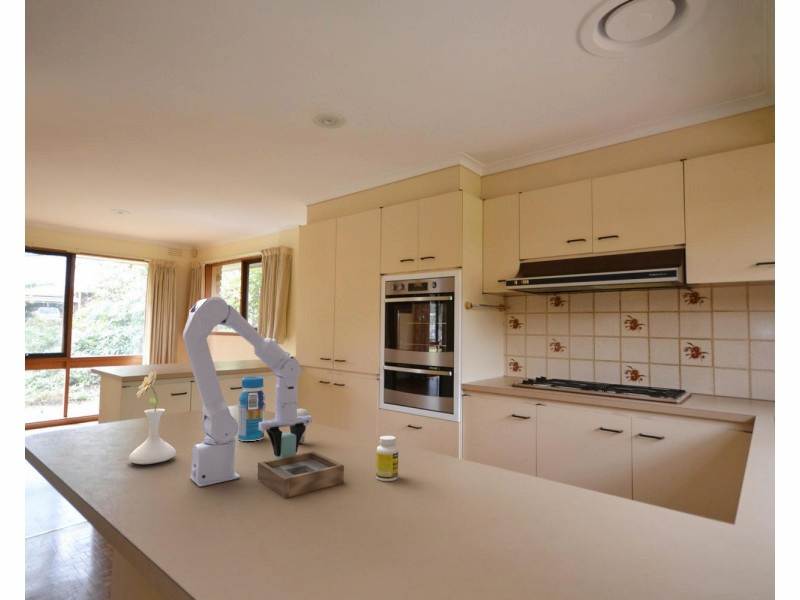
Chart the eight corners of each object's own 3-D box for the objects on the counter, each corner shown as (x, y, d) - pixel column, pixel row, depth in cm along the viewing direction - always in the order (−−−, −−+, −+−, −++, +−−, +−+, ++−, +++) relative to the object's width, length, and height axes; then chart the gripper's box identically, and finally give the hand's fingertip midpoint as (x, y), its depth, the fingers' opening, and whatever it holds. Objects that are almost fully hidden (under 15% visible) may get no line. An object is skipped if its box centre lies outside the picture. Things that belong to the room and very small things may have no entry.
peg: (281, 468, 114) (282, 437, 114) (275, 464, 117) (275, 434, 118) (295, 465, 117) (296, 435, 117) (288, 461, 120) (289, 432, 120)
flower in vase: (133, 457, 123) (136, 368, 124) (178, 453, 127) (181, 367, 128) (122, 472, 111) (126, 372, 112) (172, 467, 115) (175, 371, 116)
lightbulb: (312, 441, 141) (313, 407, 142) (306, 446, 135) (307, 410, 136) (294, 440, 141) (294, 406, 142) (287, 446, 135) (288, 410, 136)
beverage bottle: (231, 441, 140) (233, 378, 142) (248, 435, 149) (249, 376, 150) (254, 443, 138) (255, 379, 139) (269, 437, 146) (271, 376, 147)
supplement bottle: (395, 482, 104) (395, 440, 105) (373, 481, 105) (373, 439, 106) (400, 475, 109) (400, 435, 110) (379, 473, 110) (379, 434, 111)
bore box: (284, 498, 94) (284, 479, 95) (257, 479, 106) (257, 462, 106) (343, 482, 104) (343, 465, 104) (313, 466, 115) (313, 451, 116)
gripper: (266, 407, 110) (265, 462, 109) (317, 401, 119) (317, 452, 119) (255, 403, 116) (254, 456, 115) (305, 398, 125) (304, 446, 124)
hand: (285, 454), depth 117 cm, fingers open, 4 cm apart
